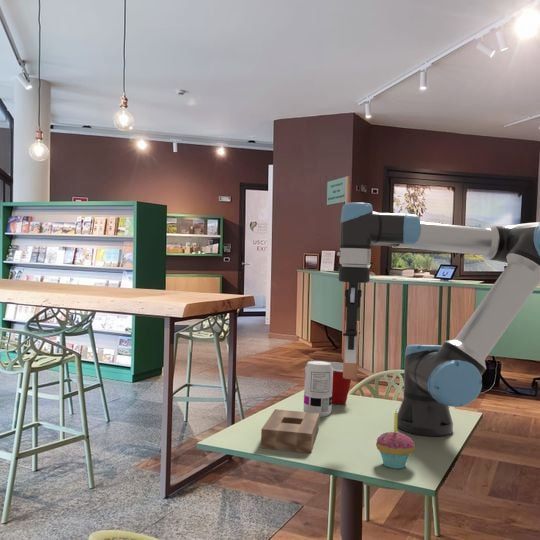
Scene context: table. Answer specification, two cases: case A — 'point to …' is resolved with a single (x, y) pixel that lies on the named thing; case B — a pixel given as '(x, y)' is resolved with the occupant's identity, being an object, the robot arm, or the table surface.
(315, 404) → the supplement can
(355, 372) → the dowel pin
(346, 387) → the plastic cup
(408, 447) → the cupcake
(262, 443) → the hole block
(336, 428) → the table surface
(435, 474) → the table surface
